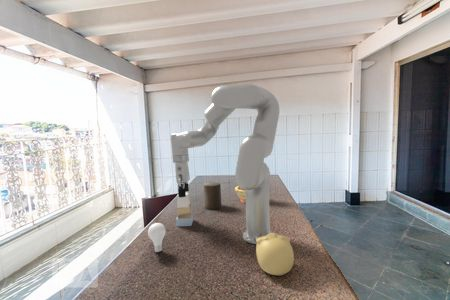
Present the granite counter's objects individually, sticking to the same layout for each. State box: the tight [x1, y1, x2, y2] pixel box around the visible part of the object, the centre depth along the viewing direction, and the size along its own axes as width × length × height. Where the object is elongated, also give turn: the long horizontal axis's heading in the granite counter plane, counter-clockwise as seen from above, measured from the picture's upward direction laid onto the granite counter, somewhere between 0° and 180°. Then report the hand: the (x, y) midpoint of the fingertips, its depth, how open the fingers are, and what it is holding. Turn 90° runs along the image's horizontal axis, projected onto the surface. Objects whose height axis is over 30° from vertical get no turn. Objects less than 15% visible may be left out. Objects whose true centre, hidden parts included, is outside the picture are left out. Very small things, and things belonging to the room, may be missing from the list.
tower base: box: [175, 212, 194, 227], centre depth 112 cm, size 7×7×4 cm
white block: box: [176, 191, 191, 208], centre depth 111 cm, size 5×5×6 cm
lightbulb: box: [147, 222, 166, 253], centre depth 87 cm, size 6×6×11 cm
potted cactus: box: [234, 185, 246, 204], centre depth 141 cm, size 16×16×25 cm
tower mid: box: [176, 203, 192, 219], centre depth 112 cm, size 6×6×5 cm
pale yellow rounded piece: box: [255, 232, 295, 276], centre depth 73 cm, size 11×12×11 cm
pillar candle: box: [203, 181, 222, 210], centre depth 133 cm, size 10×10×15 cm
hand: (184, 194), depth 110 cm, fingers open, 9 cm apart
